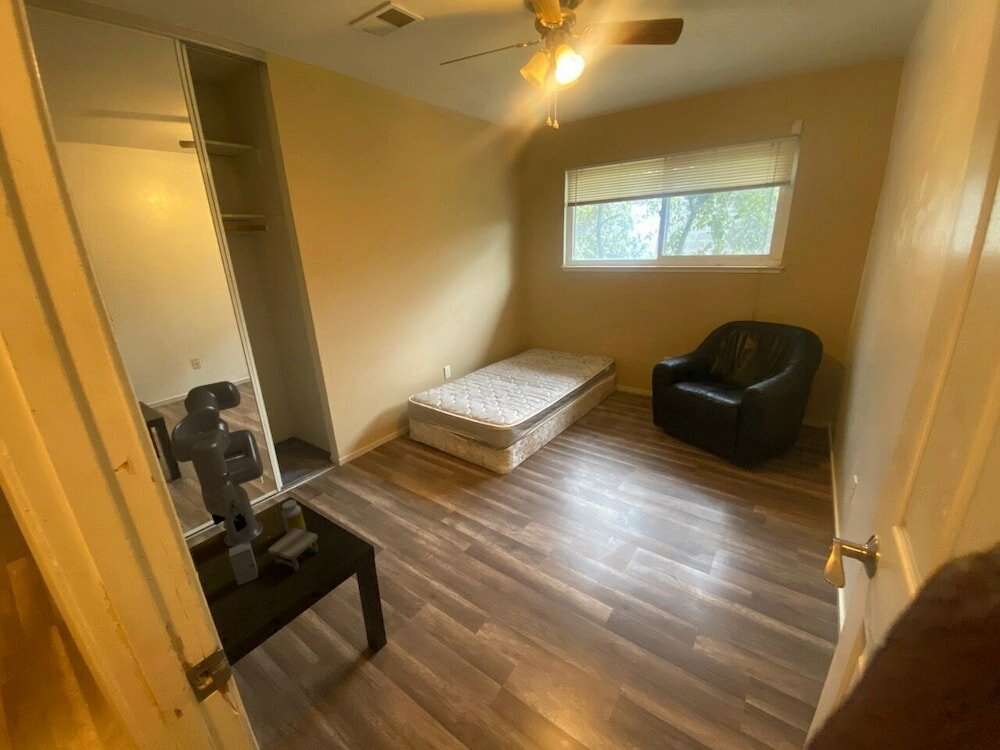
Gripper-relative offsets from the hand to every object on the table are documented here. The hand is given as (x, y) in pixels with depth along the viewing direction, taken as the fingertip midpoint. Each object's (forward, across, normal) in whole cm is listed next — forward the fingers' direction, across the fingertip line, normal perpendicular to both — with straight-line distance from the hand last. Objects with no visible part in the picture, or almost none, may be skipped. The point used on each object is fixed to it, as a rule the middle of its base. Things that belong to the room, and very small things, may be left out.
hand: (231, 525), depth 127 cm
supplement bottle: (+22, -2, +22) cm, 31 cm away
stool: (+22, +9, +12) cm, 26 cm away
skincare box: (+22, 0, 0) cm, 22 cm away
